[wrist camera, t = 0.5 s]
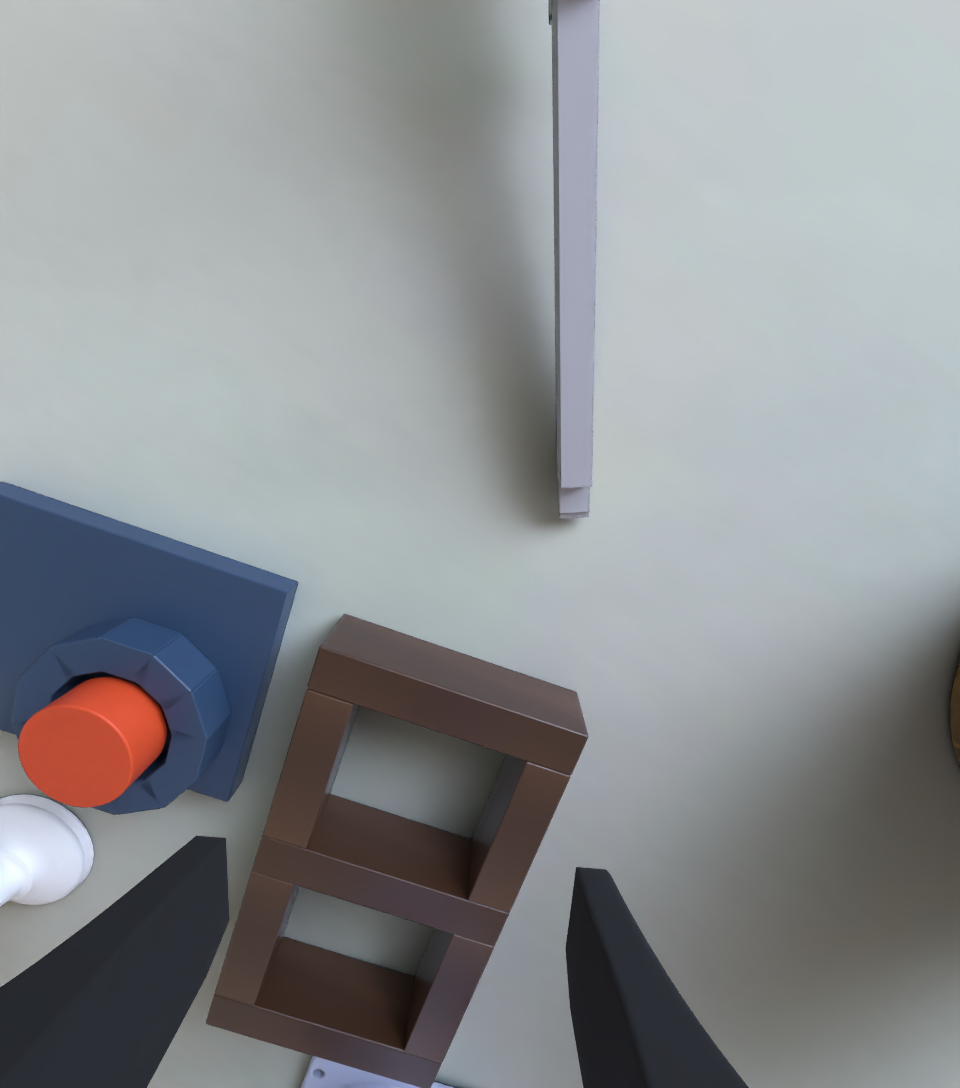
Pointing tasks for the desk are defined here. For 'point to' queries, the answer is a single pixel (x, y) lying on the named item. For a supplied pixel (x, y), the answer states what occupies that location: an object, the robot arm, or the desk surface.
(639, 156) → the desk surface
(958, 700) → the wooden container
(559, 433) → the caliper
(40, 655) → the station
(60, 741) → the station button
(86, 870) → the chess piece
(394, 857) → the holder
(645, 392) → the desk surface
